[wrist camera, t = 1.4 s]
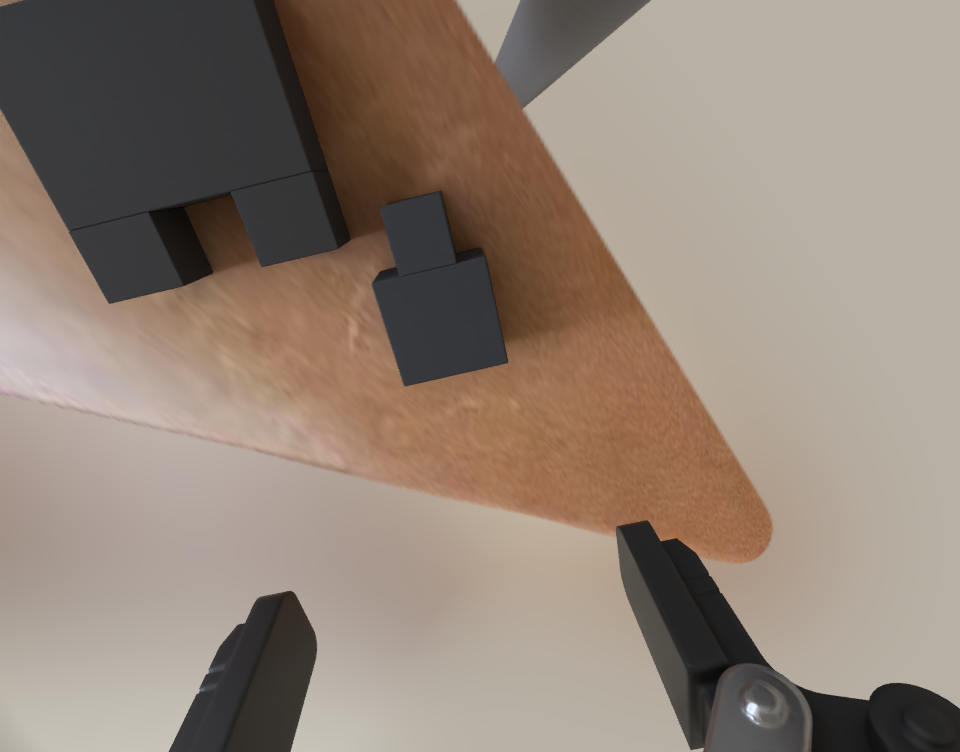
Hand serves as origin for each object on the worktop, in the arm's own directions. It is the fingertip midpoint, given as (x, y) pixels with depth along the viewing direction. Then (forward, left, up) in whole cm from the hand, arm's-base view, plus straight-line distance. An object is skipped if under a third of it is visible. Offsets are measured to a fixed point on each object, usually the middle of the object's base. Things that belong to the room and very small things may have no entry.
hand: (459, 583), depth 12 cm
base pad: (-13, -10, -19) cm, 25 cm away
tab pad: (-3, 0, -19) cm, 19 cm away
